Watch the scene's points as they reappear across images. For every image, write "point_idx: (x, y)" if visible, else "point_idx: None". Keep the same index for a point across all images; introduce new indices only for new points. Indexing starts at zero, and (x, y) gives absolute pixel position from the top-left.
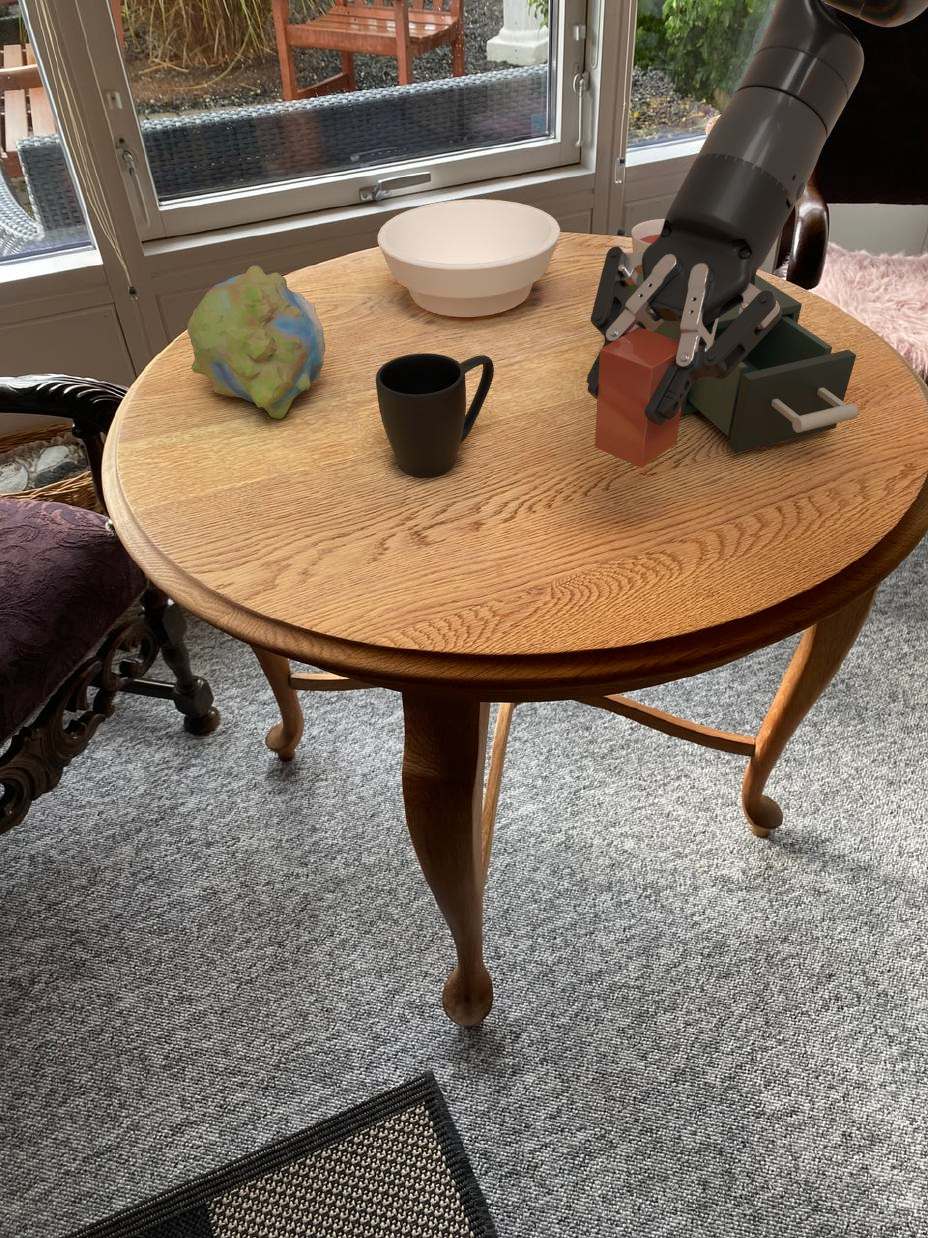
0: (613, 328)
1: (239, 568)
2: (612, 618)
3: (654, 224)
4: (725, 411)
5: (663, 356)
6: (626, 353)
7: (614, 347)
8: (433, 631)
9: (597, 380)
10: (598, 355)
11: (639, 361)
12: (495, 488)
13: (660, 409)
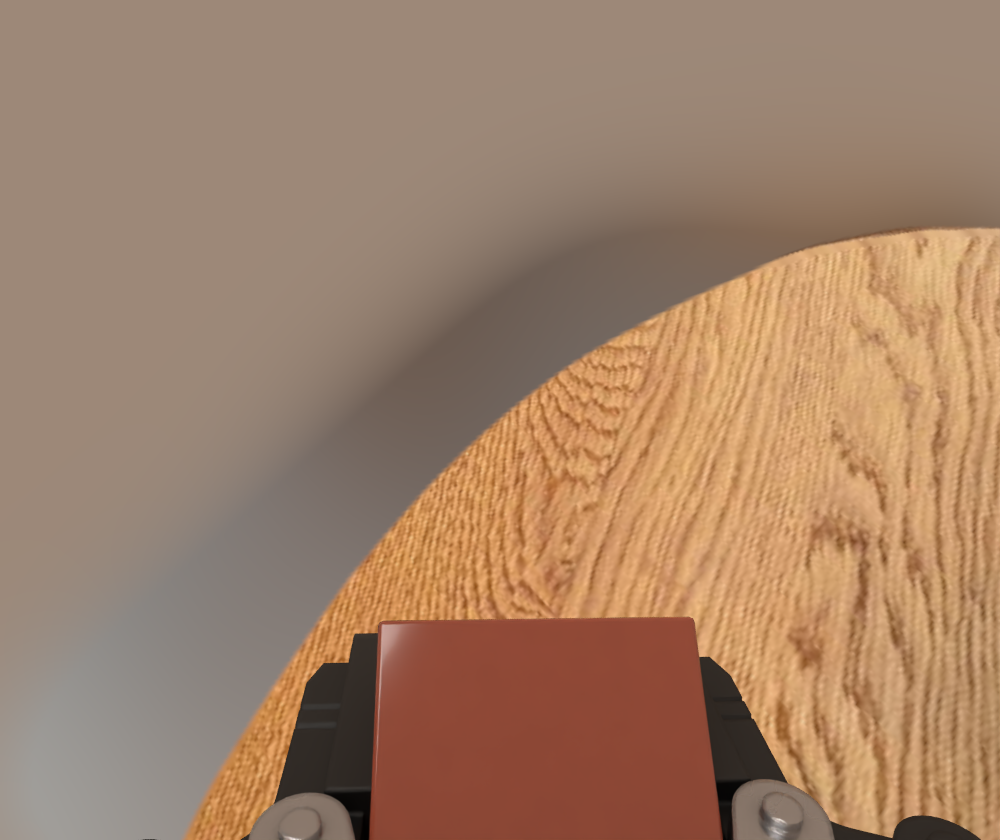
0: (795, 819)
1: (950, 280)
2: (394, 618)
3: None
4: None
5: (403, 768)
6: (567, 659)
7: (653, 671)
8: (609, 381)
9: None
10: (764, 743)
11: (466, 633)
12: (905, 796)
13: (343, 670)
